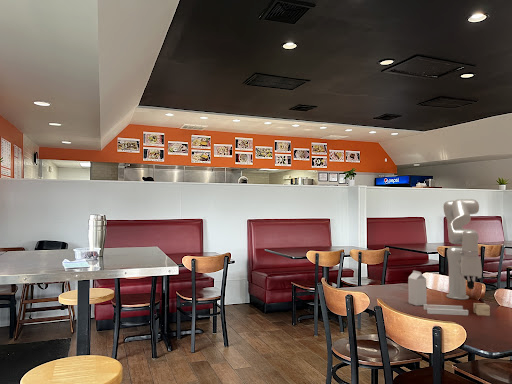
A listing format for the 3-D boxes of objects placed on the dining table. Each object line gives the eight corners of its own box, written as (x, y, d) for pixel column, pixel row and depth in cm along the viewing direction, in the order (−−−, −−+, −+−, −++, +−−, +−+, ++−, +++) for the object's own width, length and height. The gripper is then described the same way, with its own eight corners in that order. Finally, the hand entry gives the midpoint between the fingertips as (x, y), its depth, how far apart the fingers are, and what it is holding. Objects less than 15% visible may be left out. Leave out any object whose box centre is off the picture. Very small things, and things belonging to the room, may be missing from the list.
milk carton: (416, 306, 236) (415, 272, 236) (408, 303, 242) (408, 270, 243) (426, 305, 237) (426, 271, 238) (418, 302, 244) (418, 270, 245)
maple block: (473, 312, 222) (473, 303, 222) (485, 312, 221) (485, 303, 221) (477, 315, 216) (477, 305, 217) (489, 315, 215) (489, 306, 215)
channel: (423, 308, 229) (423, 304, 229) (462, 310, 225) (462, 305, 225) (427, 313, 219) (427, 308, 219) (468, 315, 216) (468, 310, 216)
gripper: (457, 254, 219) (457, 289, 218) (487, 255, 216) (488, 290, 215) (453, 252, 226) (453, 286, 226) (483, 253, 223) (483, 287, 223)
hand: (470, 288), depth 220 cm, fingers closed
